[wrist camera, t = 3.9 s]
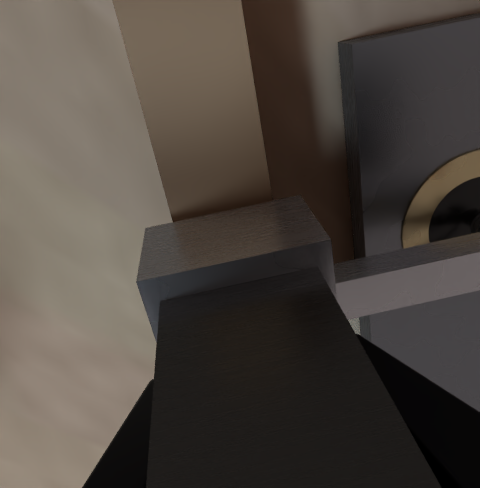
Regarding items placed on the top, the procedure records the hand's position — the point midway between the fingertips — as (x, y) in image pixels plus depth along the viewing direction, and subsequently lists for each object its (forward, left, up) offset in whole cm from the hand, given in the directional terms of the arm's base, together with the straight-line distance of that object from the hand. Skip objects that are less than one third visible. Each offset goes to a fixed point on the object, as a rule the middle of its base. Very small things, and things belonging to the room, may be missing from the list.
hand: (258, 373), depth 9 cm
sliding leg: (0, -3, -3) cm, 4 cm away
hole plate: (-6, -6, -5) cm, 10 cm away
